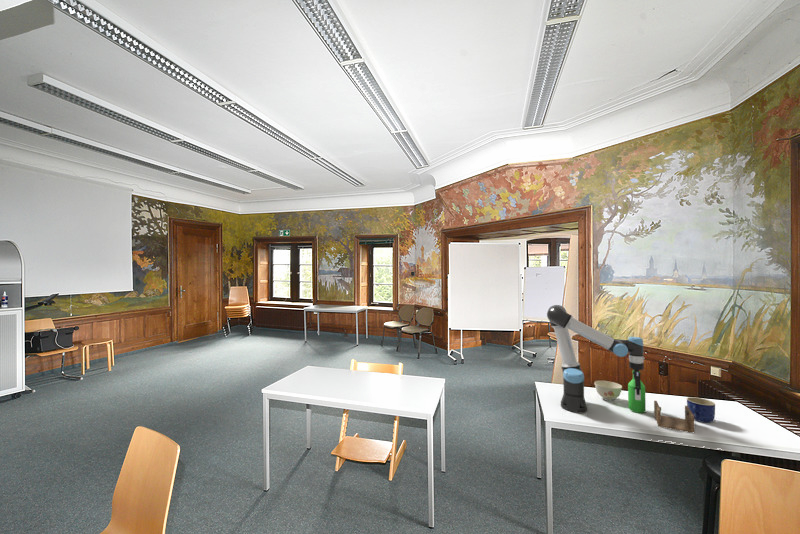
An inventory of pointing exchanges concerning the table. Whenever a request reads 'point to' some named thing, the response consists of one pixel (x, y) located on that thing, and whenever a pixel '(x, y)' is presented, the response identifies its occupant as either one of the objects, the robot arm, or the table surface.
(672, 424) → the holder
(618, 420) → the table surface
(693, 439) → the table surface
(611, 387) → the bowl
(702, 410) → the planter
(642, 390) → the bottle
